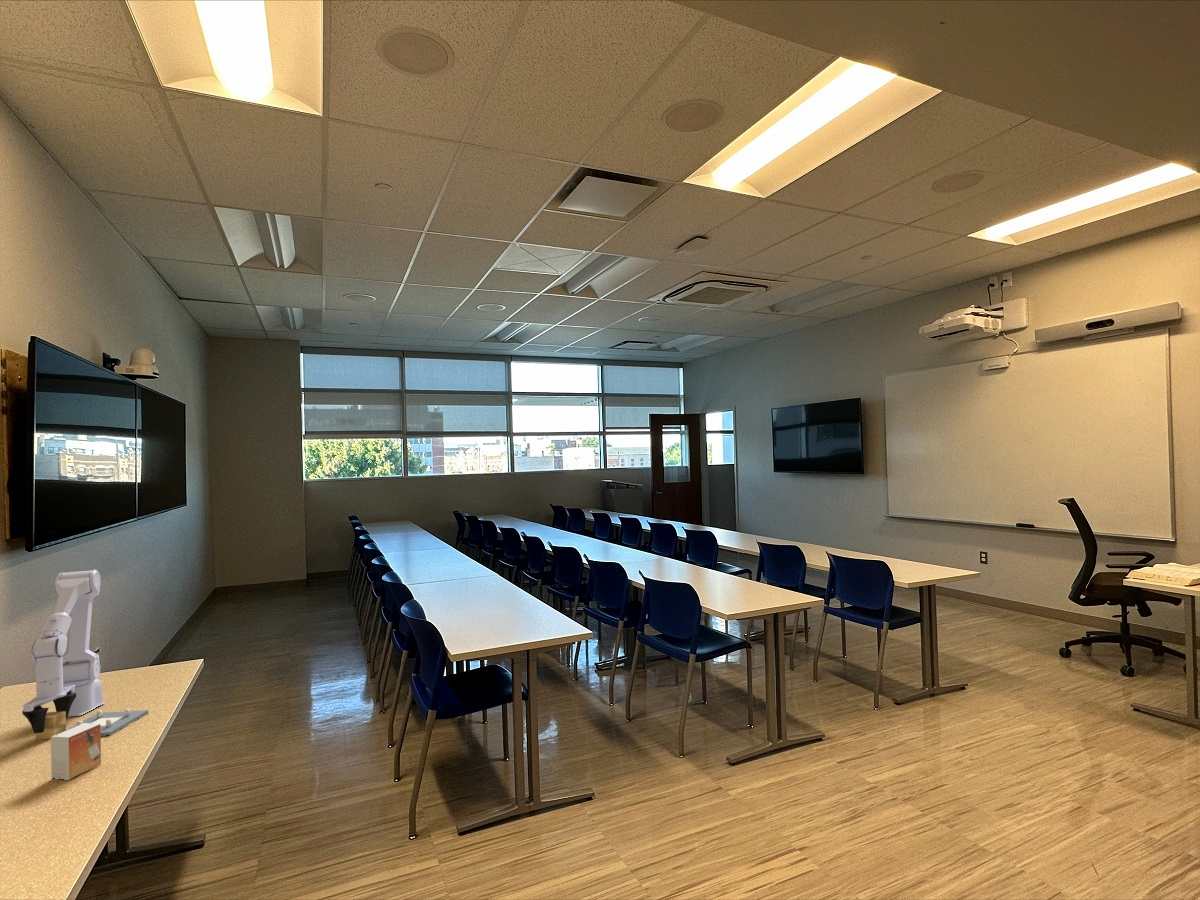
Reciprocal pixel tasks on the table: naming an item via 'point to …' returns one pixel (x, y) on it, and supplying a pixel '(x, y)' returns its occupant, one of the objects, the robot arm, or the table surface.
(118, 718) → the pin board
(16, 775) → the table surface
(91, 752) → the small box
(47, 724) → the ochre block
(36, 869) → the table surface
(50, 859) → the table surface
